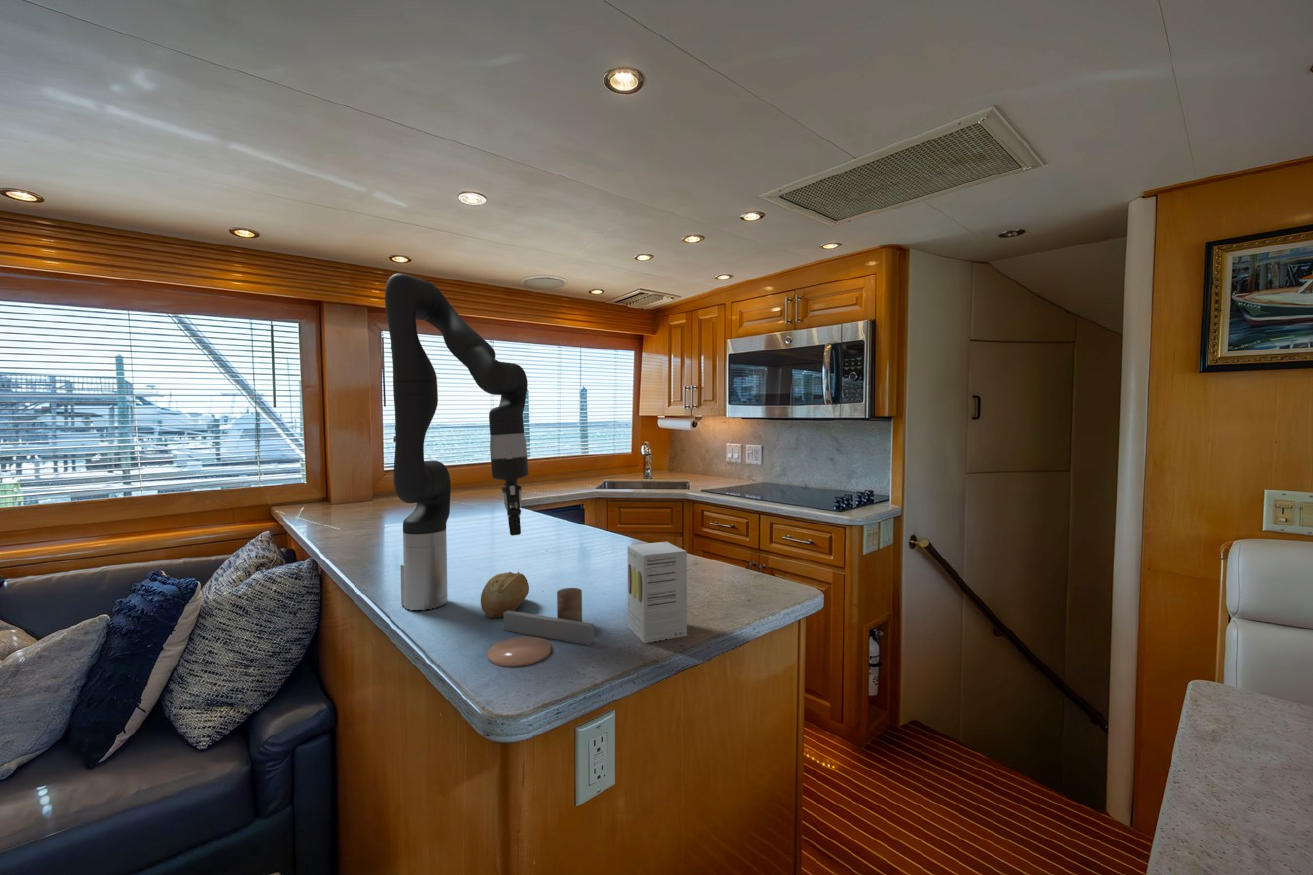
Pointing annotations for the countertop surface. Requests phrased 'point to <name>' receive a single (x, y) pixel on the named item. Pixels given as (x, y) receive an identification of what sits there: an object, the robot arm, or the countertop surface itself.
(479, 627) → the countertop surface
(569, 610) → the walnut cylinder
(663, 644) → the countertop surface
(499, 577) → the bread roll
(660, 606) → the supplement box
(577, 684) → the countertop surface
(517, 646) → the terracotta saucer
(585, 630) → the plastic fence
